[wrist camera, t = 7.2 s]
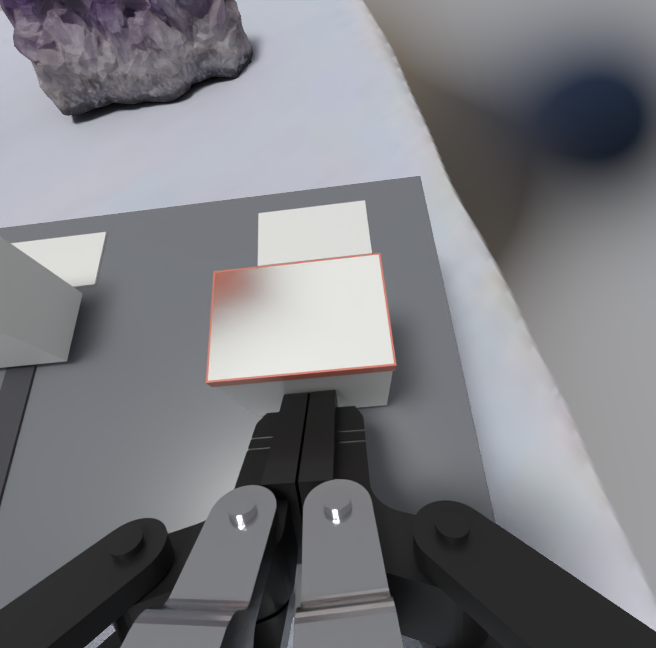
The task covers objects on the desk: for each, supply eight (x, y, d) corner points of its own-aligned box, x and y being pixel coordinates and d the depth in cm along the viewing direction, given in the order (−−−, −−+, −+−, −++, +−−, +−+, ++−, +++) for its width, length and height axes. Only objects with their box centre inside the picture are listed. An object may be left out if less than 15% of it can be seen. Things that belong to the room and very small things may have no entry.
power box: (451, 557, 19) (514, 607, 11) (31, 581, 20) (-201, 641, 12) (404, 278, 25) (420, 174, 17) (89, 311, 27) (-35, 231, 19)
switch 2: (388, 406, 13) (396, 365, 9) (257, 417, 13) (205, 383, 9) (377, 322, 14) (380, 252, 10) (258, 334, 14) (213, 271, 10)
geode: (248, 17, 40) (218, -115, 31) (262, 102, 37) (233, -16, 27) (56, 50, 40) (-35, -73, 30) (52, 139, 37) (-51, 32, 27)
